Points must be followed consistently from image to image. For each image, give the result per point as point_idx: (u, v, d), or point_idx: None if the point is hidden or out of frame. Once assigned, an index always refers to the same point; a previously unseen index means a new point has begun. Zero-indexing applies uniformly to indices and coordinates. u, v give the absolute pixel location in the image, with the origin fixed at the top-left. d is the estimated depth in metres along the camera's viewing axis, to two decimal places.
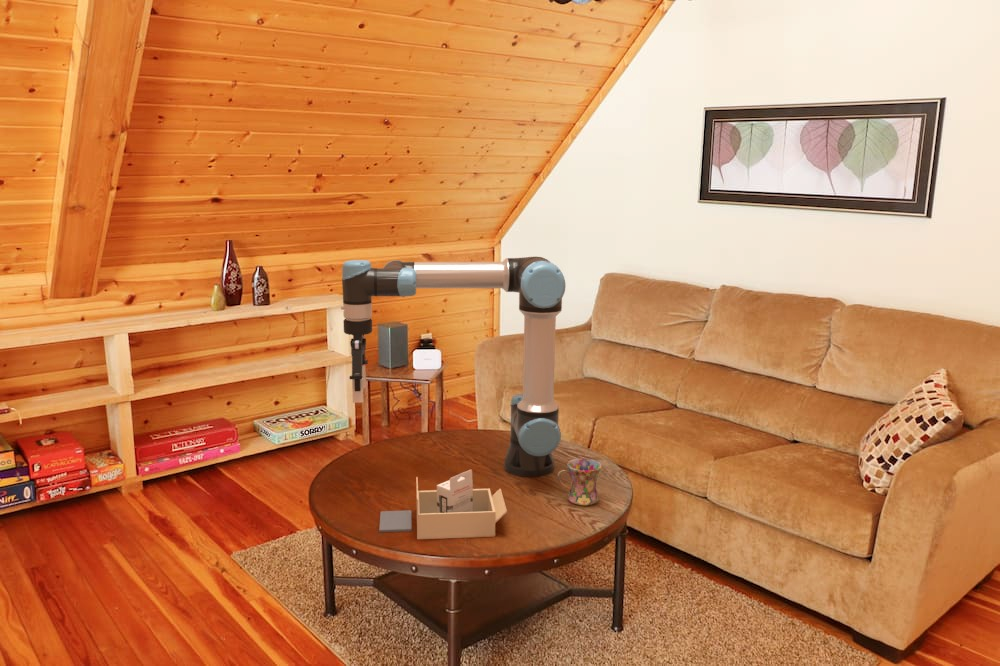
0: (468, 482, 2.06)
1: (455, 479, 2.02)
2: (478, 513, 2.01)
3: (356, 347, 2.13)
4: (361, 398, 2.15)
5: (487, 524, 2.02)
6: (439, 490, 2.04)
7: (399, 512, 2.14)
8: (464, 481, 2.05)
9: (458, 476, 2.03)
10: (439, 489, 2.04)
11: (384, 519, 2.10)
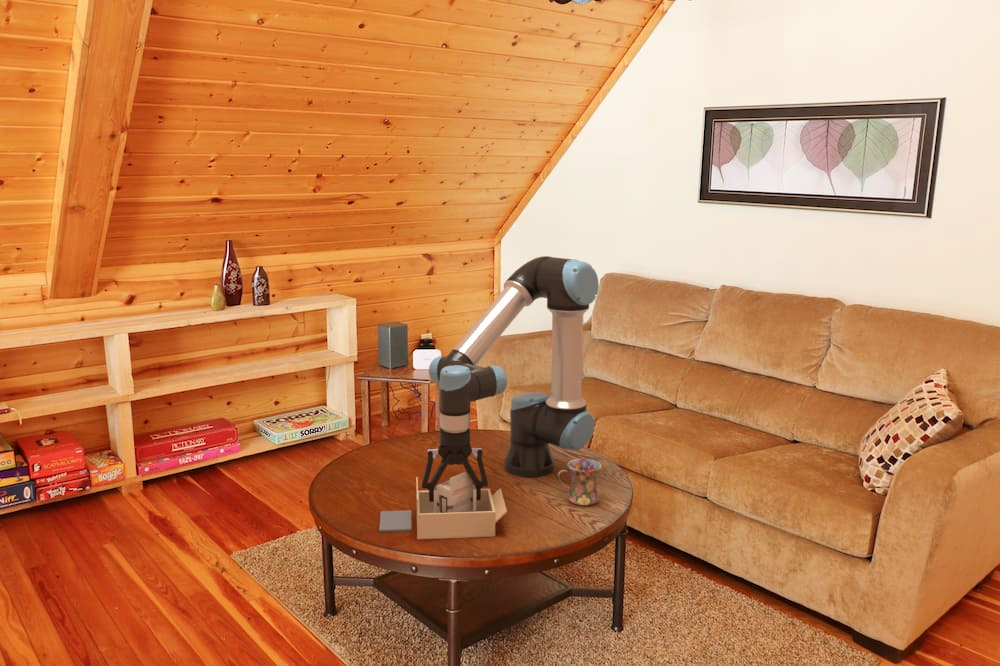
0: (468, 482, 2.06)
1: (455, 479, 2.02)
2: (478, 513, 2.01)
3: None
4: None
5: (487, 524, 2.02)
6: (438, 490, 2.04)
7: (399, 512, 2.14)
8: (464, 481, 2.05)
9: (458, 476, 2.03)
10: (439, 489, 2.04)
11: (384, 519, 2.10)
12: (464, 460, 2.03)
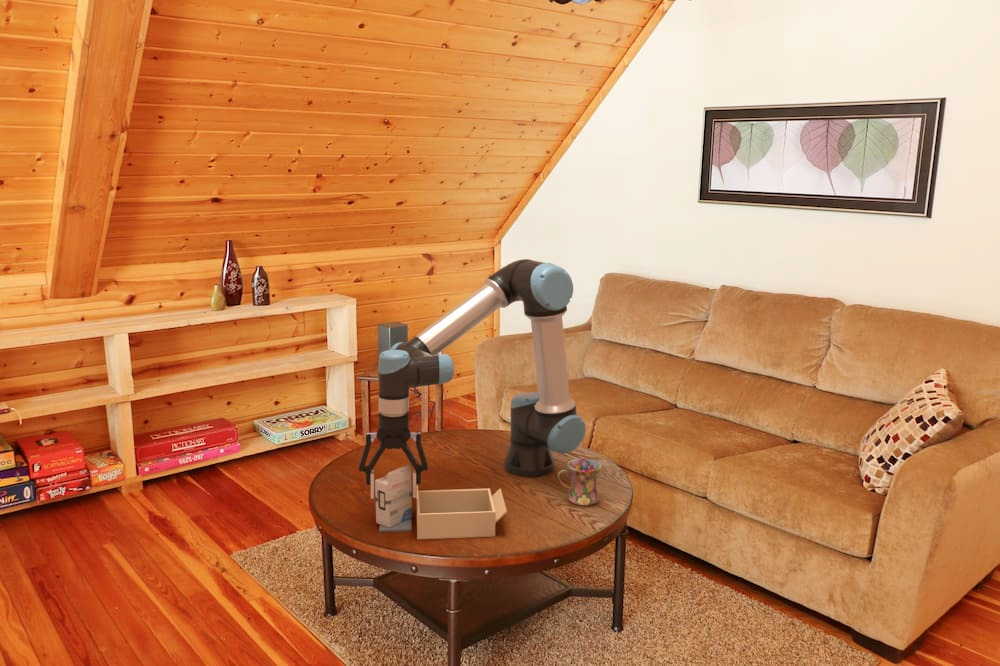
0: (406, 477, 2.07)
1: (393, 474, 2.03)
2: (478, 513, 2.01)
3: None
4: None
5: (487, 524, 2.02)
6: (377, 485, 2.05)
7: None
8: (402, 476, 2.06)
9: (396, 471, 2.04)
10: (377, 484, 2.05)
11: None
12: (402, 444, 2.04)
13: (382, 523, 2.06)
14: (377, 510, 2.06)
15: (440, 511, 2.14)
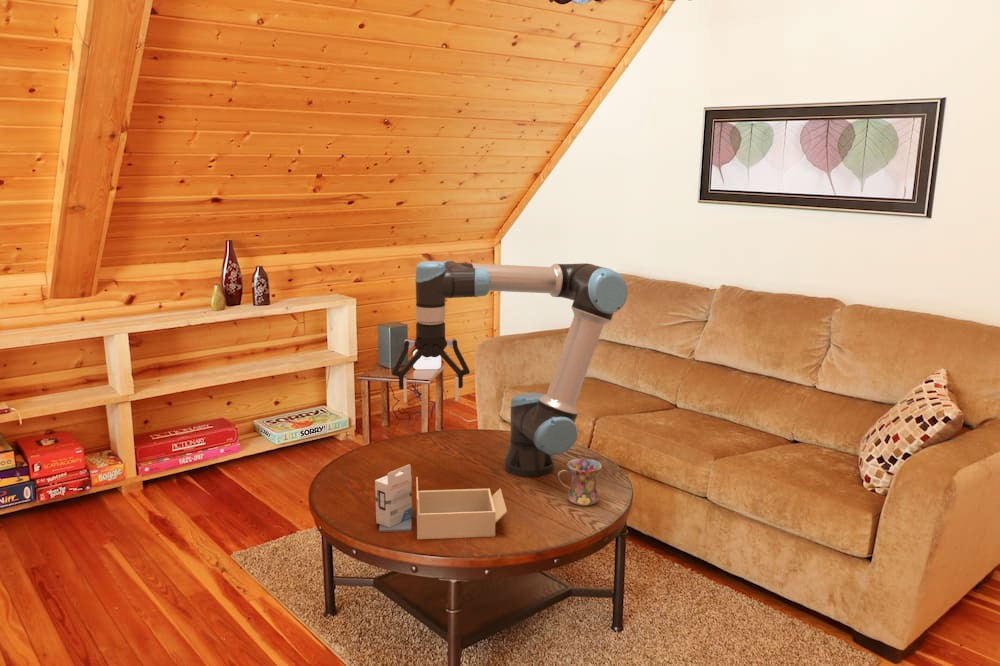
0: (407, 477, 2.07)
1: (393, 474, 2.03)
2: (478, 513, 2.01)
3: None
4: None
5: (487, 524, 2.02)
6: (377, 485, 2.05)
7: None
8: (402, 476, 2.06)
9: (396, 471, 2.04)
10: (377, 484, 2.05)
11: None
12: (440, 351, 2.12)
13: (382, 523, 2.06)
14: (377, 510, 2.06)
15: (440, 511, 2.14)
